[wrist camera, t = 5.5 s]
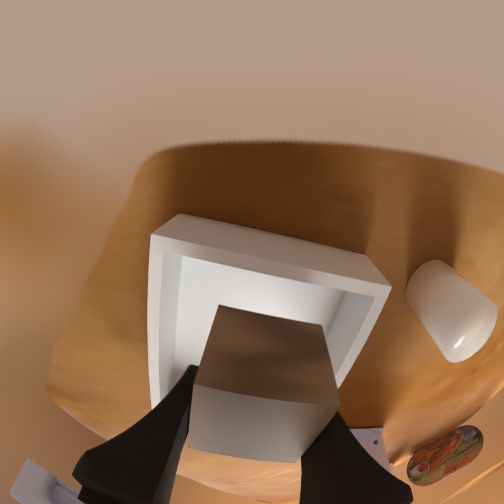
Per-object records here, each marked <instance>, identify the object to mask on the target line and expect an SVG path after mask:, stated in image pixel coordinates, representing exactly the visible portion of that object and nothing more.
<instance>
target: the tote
mask: <svg viewBox="0 0 504 504" xmlns="http://www.w3.org/2000/svg"><path fill="white" fill-rule="evenodd" d="M391 288H392V286H391V285H390V284H389V282H388V281H387V280H386V279H385V277H384V276H383V275H382V274H381V273H380V271H379V270H378V269H377V268H376V267H375V265H374V264H373V263H372V262H371V261H370V259H369V258H368V257H367V256H366V255H363V254H359V253H355V252H351V251H347V250H343V249H339V248H335V247H331V246H327V245H323V244H318V243H314V242H310V241H306V240H301V239H297V238H293V237H289V236H284V235H280V234H275V233H271V232H267V231H262V230H258V229H253V228H249V227H244V226H240V225H235V224H230V223H226V222H221V221H216V220H212V219H207V218H202V217H197V216H193V215H188V214H183V213H179V214H177V215H176V216H175V217H173V218H172V219H170V220H169V221H168V222H166V223H165V224H164V225H162V226H161V227H160V228H158V229H157V230H156V231H154V232H153V233H152V234H151V241H150V255H149V274H148V361H149V379H150V392H151V404H152V409H153V408H155V407H156V406H157V405H158V404H159V402H160V401H161V400H162V399H163V398H164V397H165V396H166V395H167V394H168V393H169V392H170V391H171V389H172V388H173V387H174V386H175V385H176V383H177V382H178V381H179V379H180V378H181V377H182V375H183V374H184V372H185V371H186V369H187V367H188V365H191V364H192V365H196V366H199V365H200V362H201V358H202V355H203V352H204V349H205V346H206V342H207V339H208V336H209V333H210V330H211V327H212V323H213V320H214V317H215V314H216V311H217V308H218V305H219V304H220V305H224V306H228V307H233V308H237V309H242V310H247V311H251V312H256V313H261V314H266V315H271V316H276V317H281V318H286V319H292V320H297V321H303V322H308V323H314V324H320V325H322V328H323V332H324V336H325V340H326V343H327V347H328V351H329V355H330V359H331V363H332V368H333V372H334V376H335V380H336V384H337V389H338V388H339V387H340V385H341V384H342V382H343V380H344V379H345V377H346V376H347V374H348V372H349V370H350V369H351V367H352V365H353V364H354V362H355V360H356V358H357V357H358V355H359V353H360V351H361V349H362V348H363V346H364V344H365V342H366V340H367V338H368V336H369V334H370V333H371V331H372V329H373V327H374V325H375V323H376V321H377V319H378V317H379V314H380V312H381V310H382V308H383V306H384V304H385V302H386V300H387V297H388V295H389V293H390V291H391Z"/></svg>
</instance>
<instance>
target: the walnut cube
mask: <svg viewBox="0 0 504 504" xmlns="http://www.w3.org/2000/svg"><path fill="white" fill-rule="evenodd" d="M340 407H341V402H340V397H339V393H338V389H337V384H336V380H335V376H334V372H333V368H332V363H331V359H330V355H329V351H328V347H327V343H326V340H325V336H324V332H323V328H322V325H320V324H314V323H308V322H303V321H297V320H292V319H286V318H281V317H276V316H271V315H266V314H261V313H256V312H251V311H247V310H242V309H237V308H233V307H228V306H224V305H220V304H219V305H218V308H217V311H216V314H215V317H214V320H213V323H212V327H211V330H210V333H209V336H208V339H207V342H206V346H205V349H204V352H203V355H202V358H201V362H200V365H199V368H198V371H197V375H196V378H195V381H194V385H193V394H192V403H191V413H190V423H189V434H188V445H187V447H188V448H192V449H197V450H201V451H205V452H210V453H215V454H220V455H226V456H232V457H238V458H245V459H253V460H262V461H272V462H286V463H295V462H296V461H297V460H298V459H299V458H300V457H301V456H302V455H303V453H304V452H305V451H306V450H307V449H308V448H309V446H310V445H311V444H312V443H313V442H314V441H315V439H316V438H317V437H318V436H319V434H320V433H321V432H322V431H323V429H324V428H325V427H326V426H327V424H328V423H329V422H330V420H331V419H332V418H333V416H334V415H335V414H336V412H337V411H338V410H339V408H340Z"/></svg>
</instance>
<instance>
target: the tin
mask: <svg viewBox="0 0 504 504" xmlns="http://www.w3.org/2000/svg"><path fill="white" fill-rule="evenodd" d="M482 446H483V435H482V433H481V431H480V430H479V429H478V428H477V427H475V426H471V425H465V426H461V427H458V428H457V429H455V430H453V431H452V432H450V433H448V434H447V435H445V436H443V437H442V438H440V439H438V440H436V441H434V442H432V443H431V444H429V445H427V446H425V447H423V448H421V449H419V450H418V451H417V452H416V453H415V454H414V455H413V456H412V457H411V459H410V461H409V463H408V466H407V475H408V478H409V479H410V481H411V482H412V483H413V484H415V485H417V486H429V485H432V484H434V483H436V482H438V481H440V480H442V479H444V478H445V477H447V476H449V475H451V474H453V473H454V472H456V471H458V470H459V469H461V468H463V467H464V466H466V465H468V464H469V463H471V462H472V461H473V460H474V459H475V458H476V457H477V456H478V454H479V453H480V451H481V449H482Z"/></svg>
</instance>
